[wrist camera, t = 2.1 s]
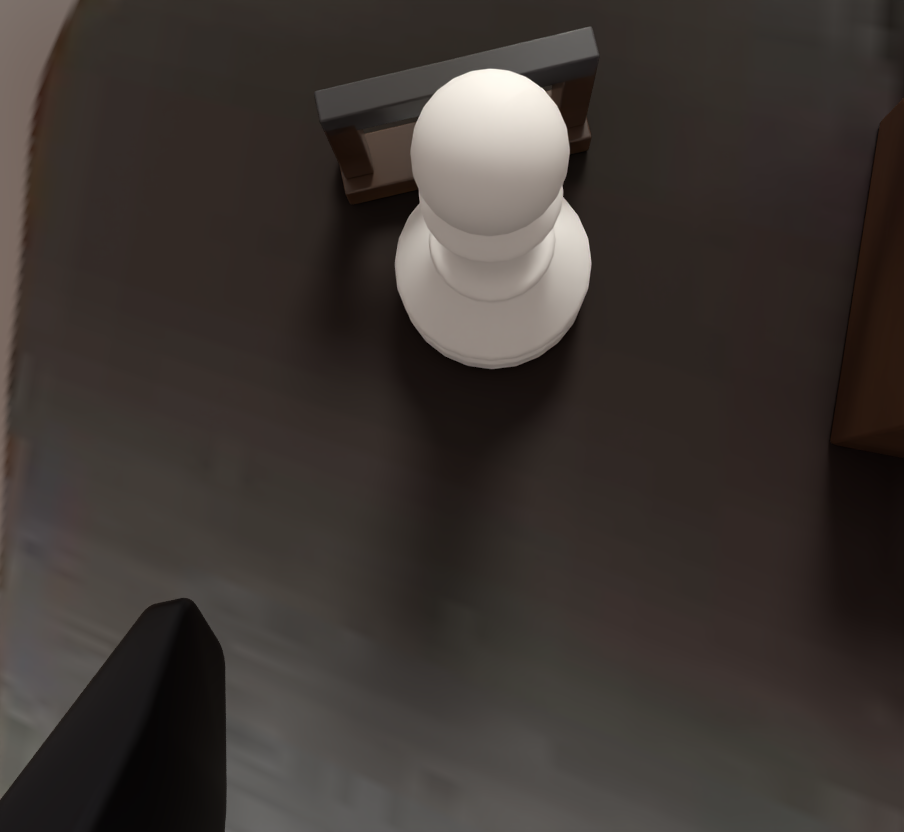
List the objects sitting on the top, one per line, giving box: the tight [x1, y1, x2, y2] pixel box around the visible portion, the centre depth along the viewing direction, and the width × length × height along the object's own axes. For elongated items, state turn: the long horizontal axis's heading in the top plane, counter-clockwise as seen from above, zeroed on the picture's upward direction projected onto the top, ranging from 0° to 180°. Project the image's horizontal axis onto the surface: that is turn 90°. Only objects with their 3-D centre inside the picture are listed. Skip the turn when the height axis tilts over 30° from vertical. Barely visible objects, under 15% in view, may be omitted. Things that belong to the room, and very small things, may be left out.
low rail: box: [314, 27, 600, 205], centre depth 20 cm, size 7×2×4 cm, turn 102°
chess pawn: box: [395, 69, 592, 369], centre depth 17 cm, size 5×5×9 cm
